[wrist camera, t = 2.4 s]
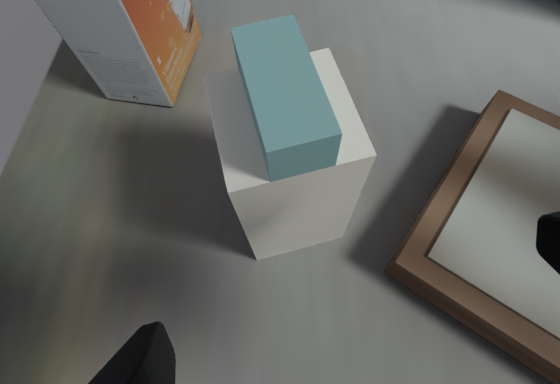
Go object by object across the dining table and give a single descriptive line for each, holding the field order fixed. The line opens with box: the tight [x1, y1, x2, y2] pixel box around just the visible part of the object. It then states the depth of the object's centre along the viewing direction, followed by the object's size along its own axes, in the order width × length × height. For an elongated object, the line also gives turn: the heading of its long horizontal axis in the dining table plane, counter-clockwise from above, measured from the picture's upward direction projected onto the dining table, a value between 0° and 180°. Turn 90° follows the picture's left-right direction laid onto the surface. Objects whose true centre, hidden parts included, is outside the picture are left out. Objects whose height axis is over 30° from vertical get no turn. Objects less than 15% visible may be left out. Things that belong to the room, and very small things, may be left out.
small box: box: [35, 0, 201, 107], centre depth 23 cm, size 8×6×10 cm
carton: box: [202, 14, 377, 260], centre depth 17 cm, size 6×6×12 cm
